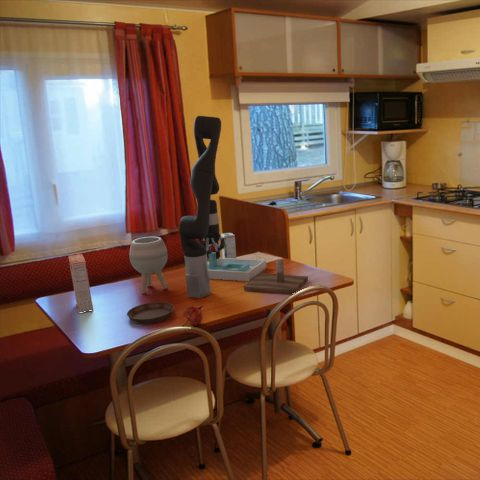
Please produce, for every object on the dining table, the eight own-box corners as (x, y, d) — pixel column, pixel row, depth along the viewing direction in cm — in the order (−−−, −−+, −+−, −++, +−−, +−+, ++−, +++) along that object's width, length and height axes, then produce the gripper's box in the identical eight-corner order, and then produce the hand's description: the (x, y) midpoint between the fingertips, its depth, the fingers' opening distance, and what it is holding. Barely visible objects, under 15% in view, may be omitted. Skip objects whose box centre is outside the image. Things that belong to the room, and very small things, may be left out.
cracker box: (75, 303, 227) (67, 255, 222) (90, 301, 229) (83, 253, 224) (78, 314, 214) (70, 263, 209) (93, 311, 216) (86, 260, 211)
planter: (134, 297, 229) (127, 246, 223) (133, 286, 244) (127, 238, 239) (172, 292, 231) (166, 241, 226) (169, 281, 247) (164, 233, 242)
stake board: (294, 294, 217) (292, 268, 215) (244, 290, 227) (242, 265, 224) (308, 280, 233) (306, 256, 230) (260, 277, 242) (259, 253, 240)
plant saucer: (118, 319, 206) (117, 312, 205) (156, 305, 218) (155, 298, 217) (146, 330, 194) (145, 322, 193) (184, 314, 206) (183, 307, 205)
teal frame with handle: (239, 275, 244) (237, 258, 243) (206, 273, 252) (204, 256, 250) (249, 267, 255) (248, 251, 253) (217, 266, 262) (216, 250, 260)
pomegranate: (189, 336, 191) (210, 316, 191) (174, 321, 189) (195, 301, 190) (189, 330, 198) (208, 311, 198) (175, 316, 197) (195, 297, 197)
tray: (249, 281, 238) (248, 272, 237) (197, 277, 249) (196, 269, 248) (266, 268, 256) (265, 260, 255) (217, 265, 267) (216, 257, 266)
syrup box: (222, 262, 272) (220, 233, 269) (233, 260, 274) (231, 232, 270) (225, 264, 267) (223, 236, 264) (237, 262, 269) (235, 234, 265)
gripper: (193, 224, 251) (196, 260, 255) (220, 224, 245) (223, 261, 249) (201, 220, 257) (204, 255, 261) (228, 221, 251) (230, 257, 255)
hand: (213, 258), depth 255 cm, fingers open, 3 cm apart
